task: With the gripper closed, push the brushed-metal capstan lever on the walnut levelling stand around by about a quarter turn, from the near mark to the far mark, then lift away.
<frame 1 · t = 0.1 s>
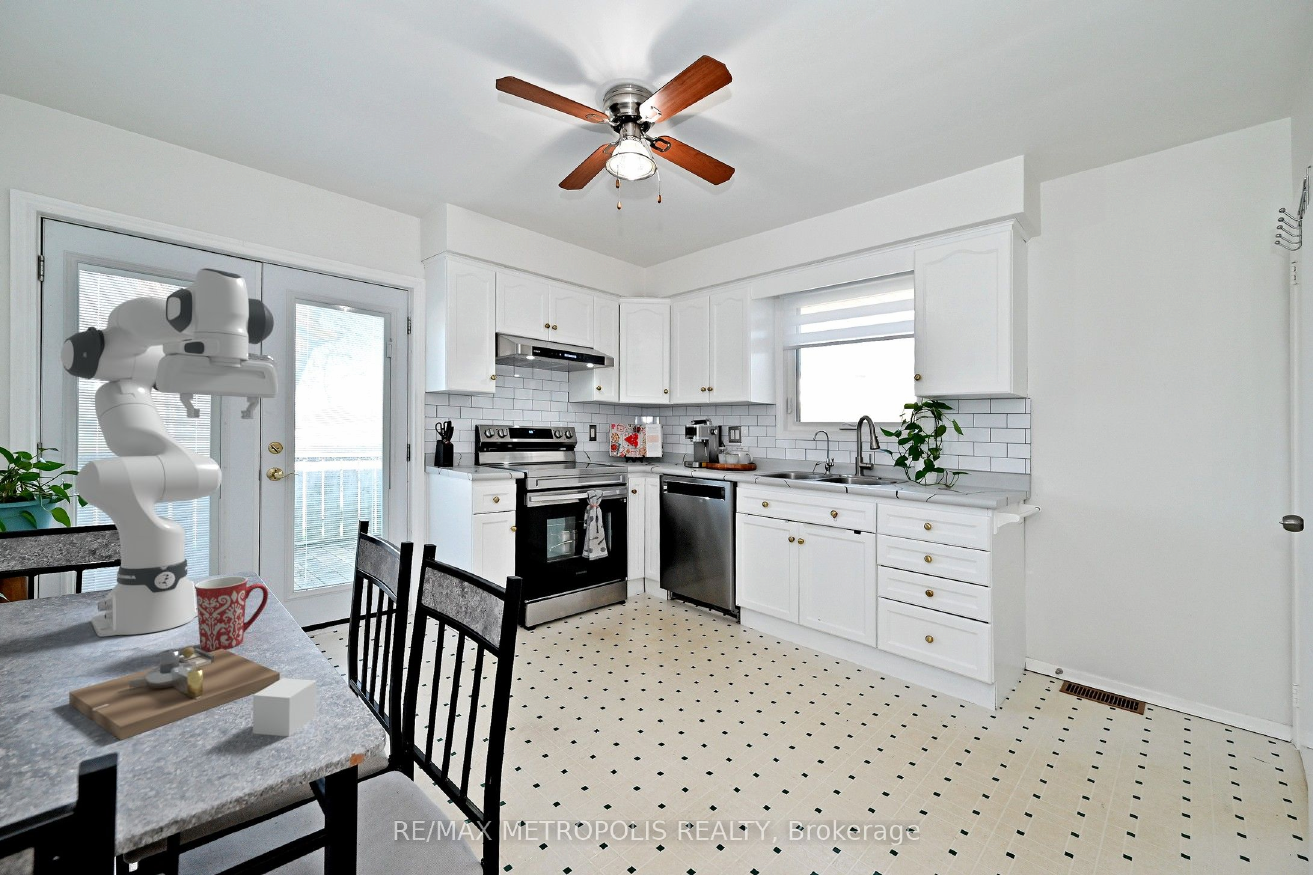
hand: (221, 418, 116), 48 cm above the table, tool pointing down, fingers open, 8 cm apart
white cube: (285, 726, 90), on the table
stand: (179, 693, 99), on the table
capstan: (179, 670, 97), point 5 cm above the table, hinge at 0.0°
mug: (232, 643, 122), on the table
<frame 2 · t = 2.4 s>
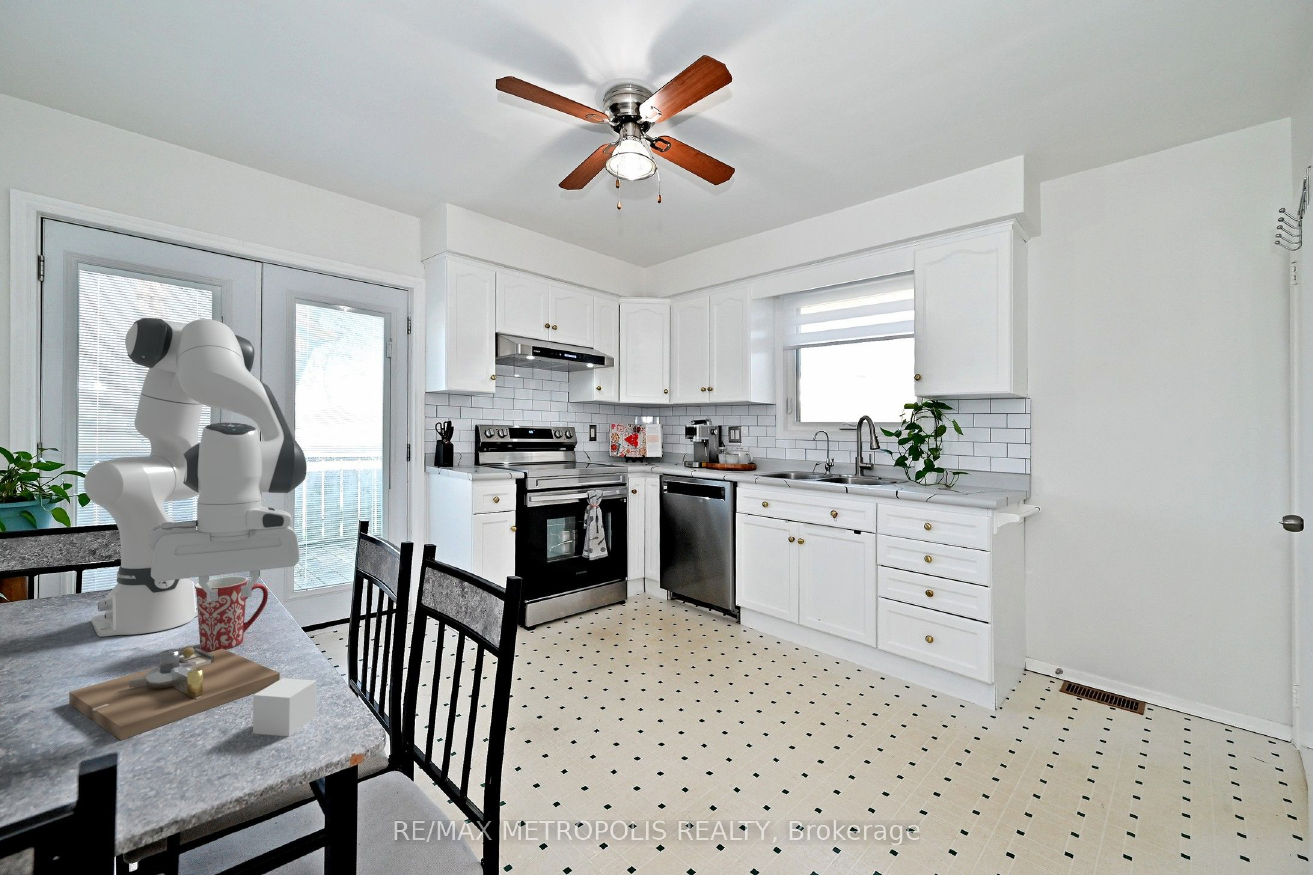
hand: (229, 598, 98), 17 cm above the table, tool pointing down, fingers open, 3 cm apart
nothing on the table moved.
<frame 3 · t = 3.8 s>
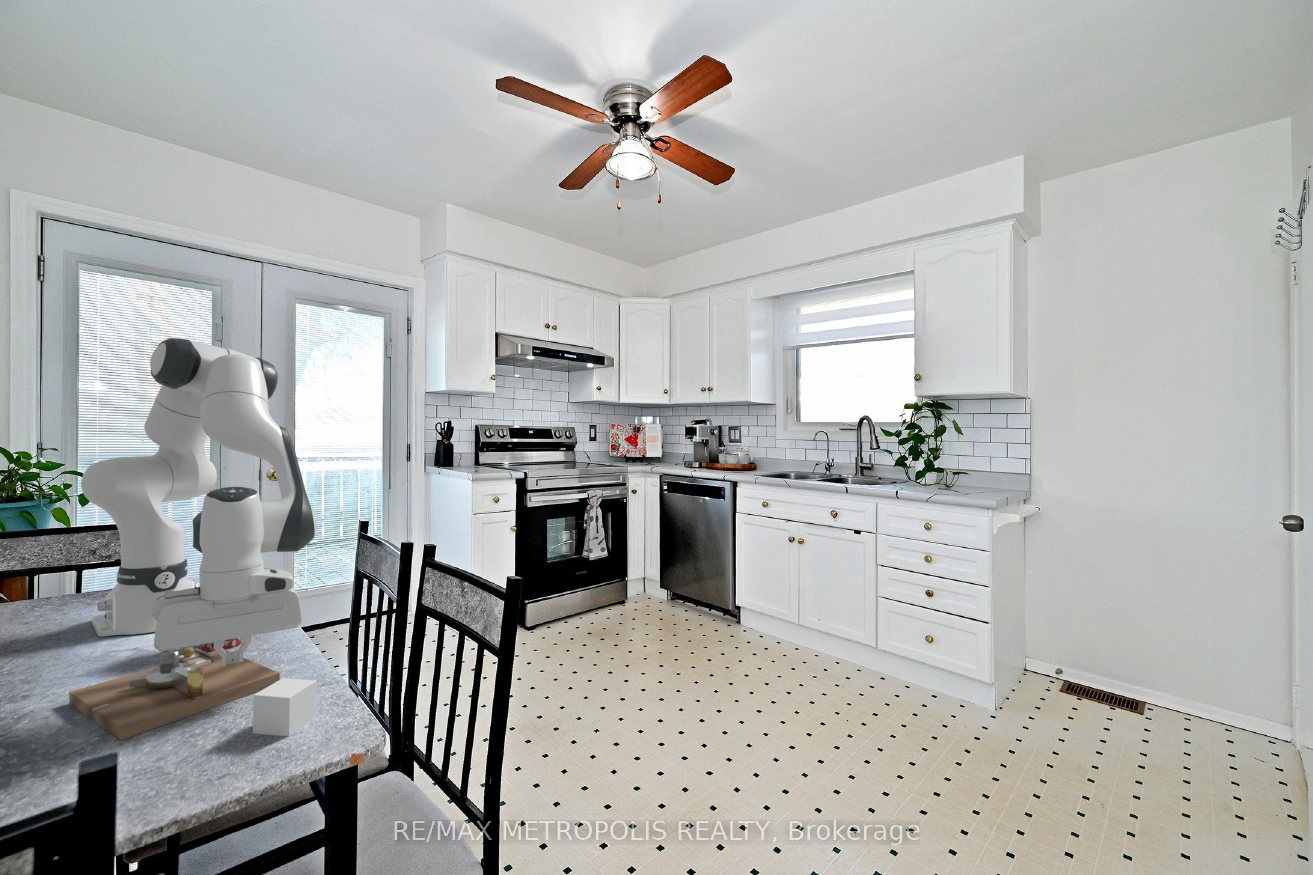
hand: (232, 663, 98), 6 cm above the table, tool pointing down, fingers closed
nothing on the table moved.
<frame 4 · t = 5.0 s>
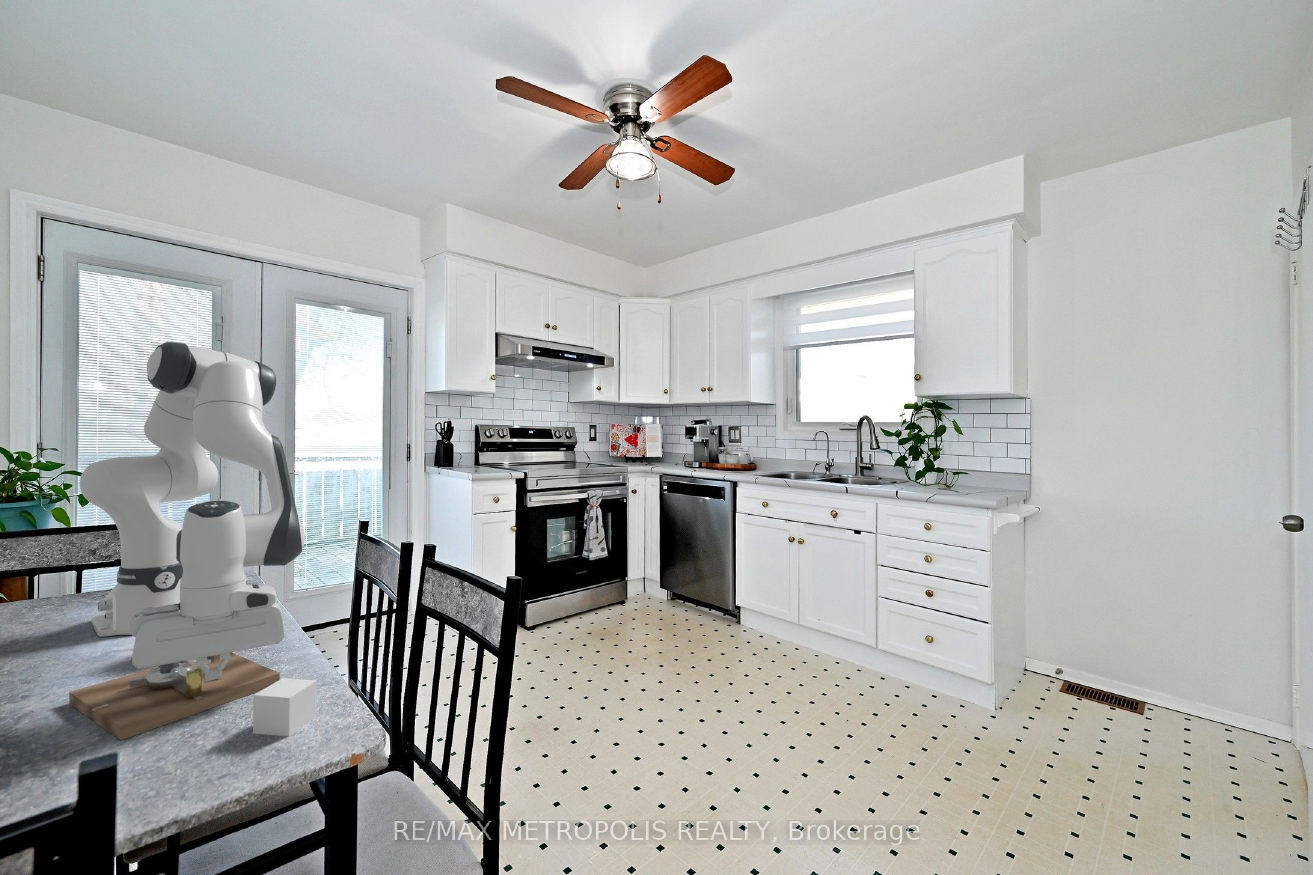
hand: (213, 680, 96), 4 cm above the table, tool pointing down, fingers closed
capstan: (178, 671, 97), point 5 cm above the table, hinge at -1.0°, touching gripper
everything else where it was.
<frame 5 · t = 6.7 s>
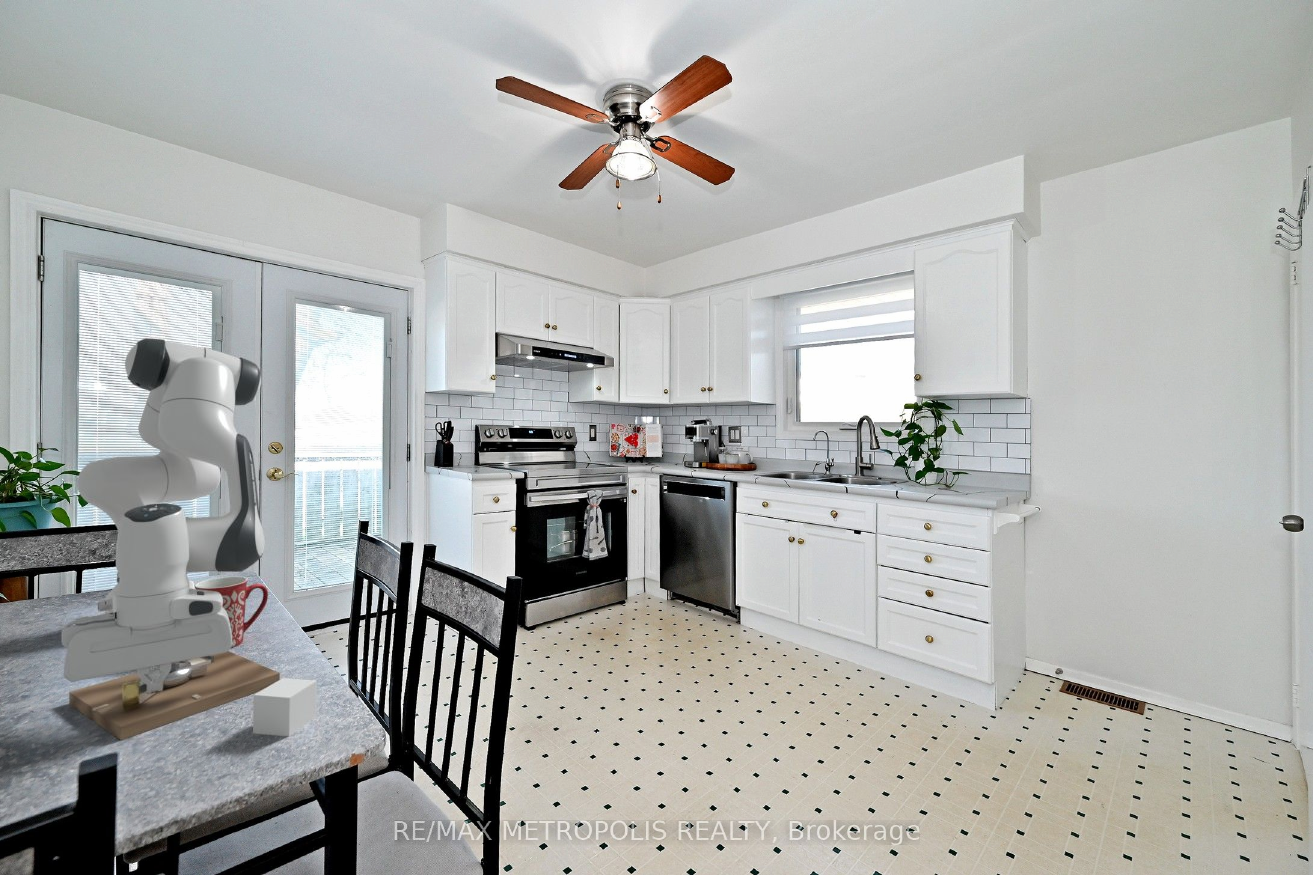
hand: (154, 691, 92), 4 cm above the table, tool pointing down, fingers closed
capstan: (155, 675, 95), point 5 cm above the table, hinge at -49.3°, touching gripper
everything else where it was.
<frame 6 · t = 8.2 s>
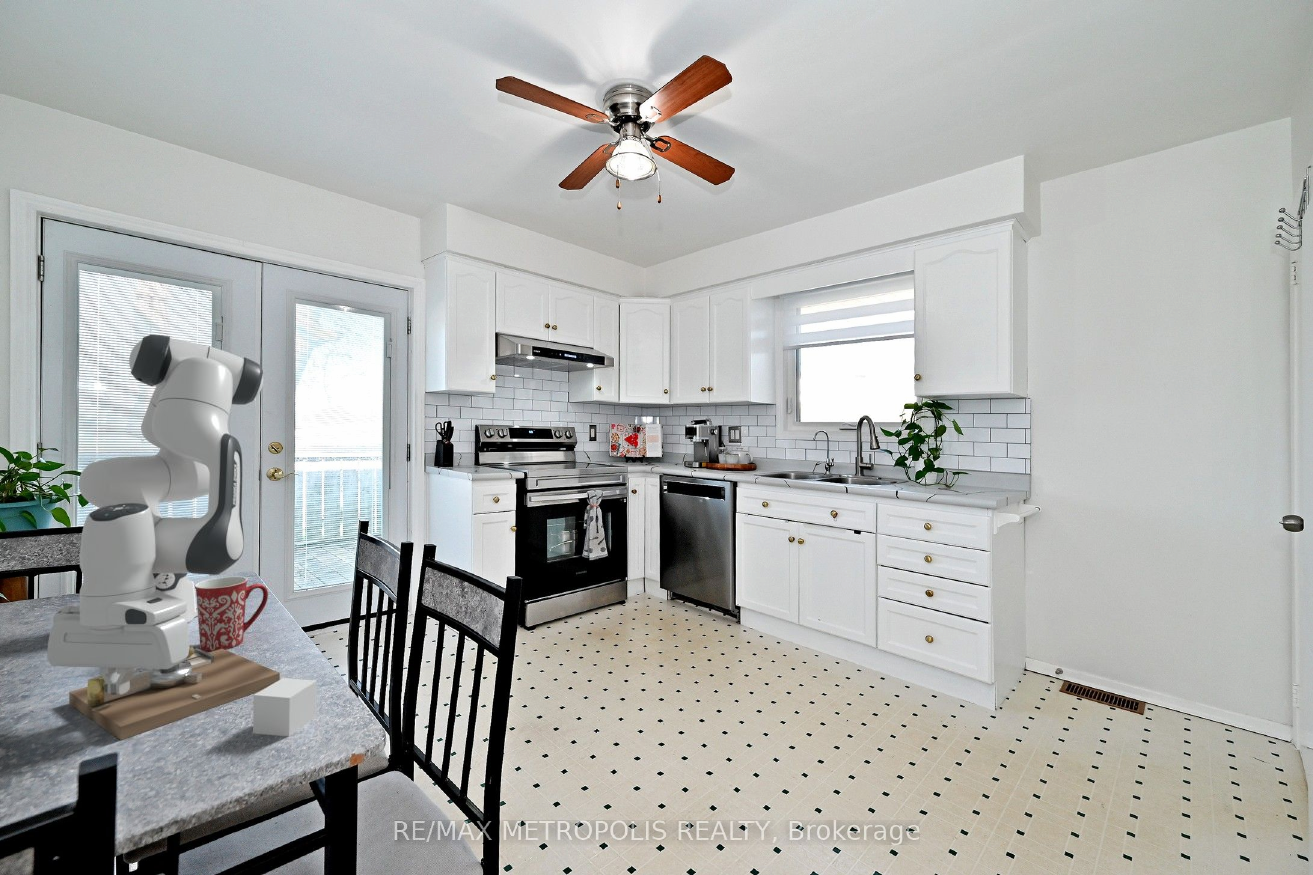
hand: (118, 692, 91), 4 cm above the table, tool pointing down, fingers closed
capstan: (142, 673, 95), point 5 cm above the table, hinge at -89.7°, touching gripper
everything else where it was.
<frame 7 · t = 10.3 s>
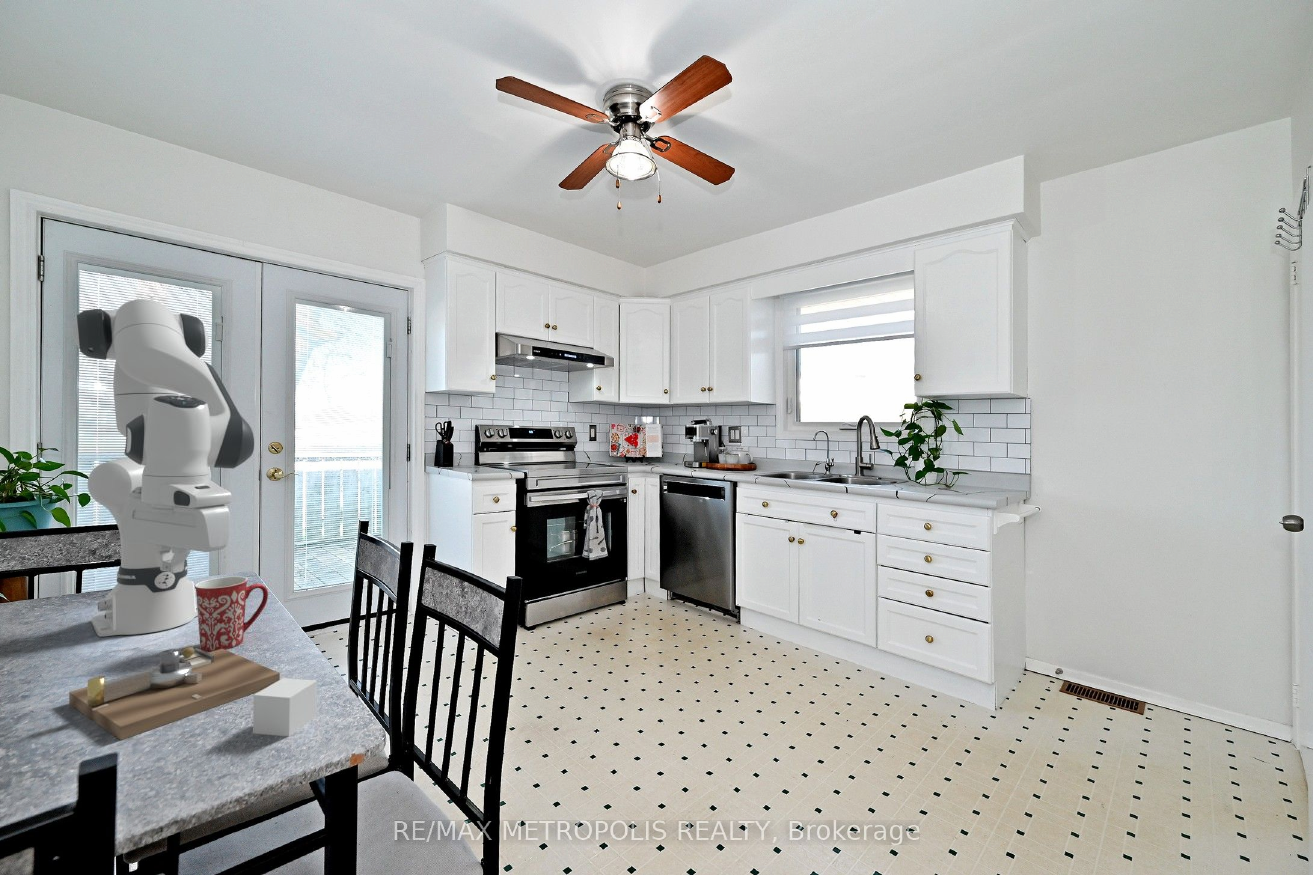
hand: (171, 571, 98), 22 cm above the table, tool pointing down, fingers closed
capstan: (142, 673, 95), point 5 cm above the table, hinge at -89.7°
everything else where it was.
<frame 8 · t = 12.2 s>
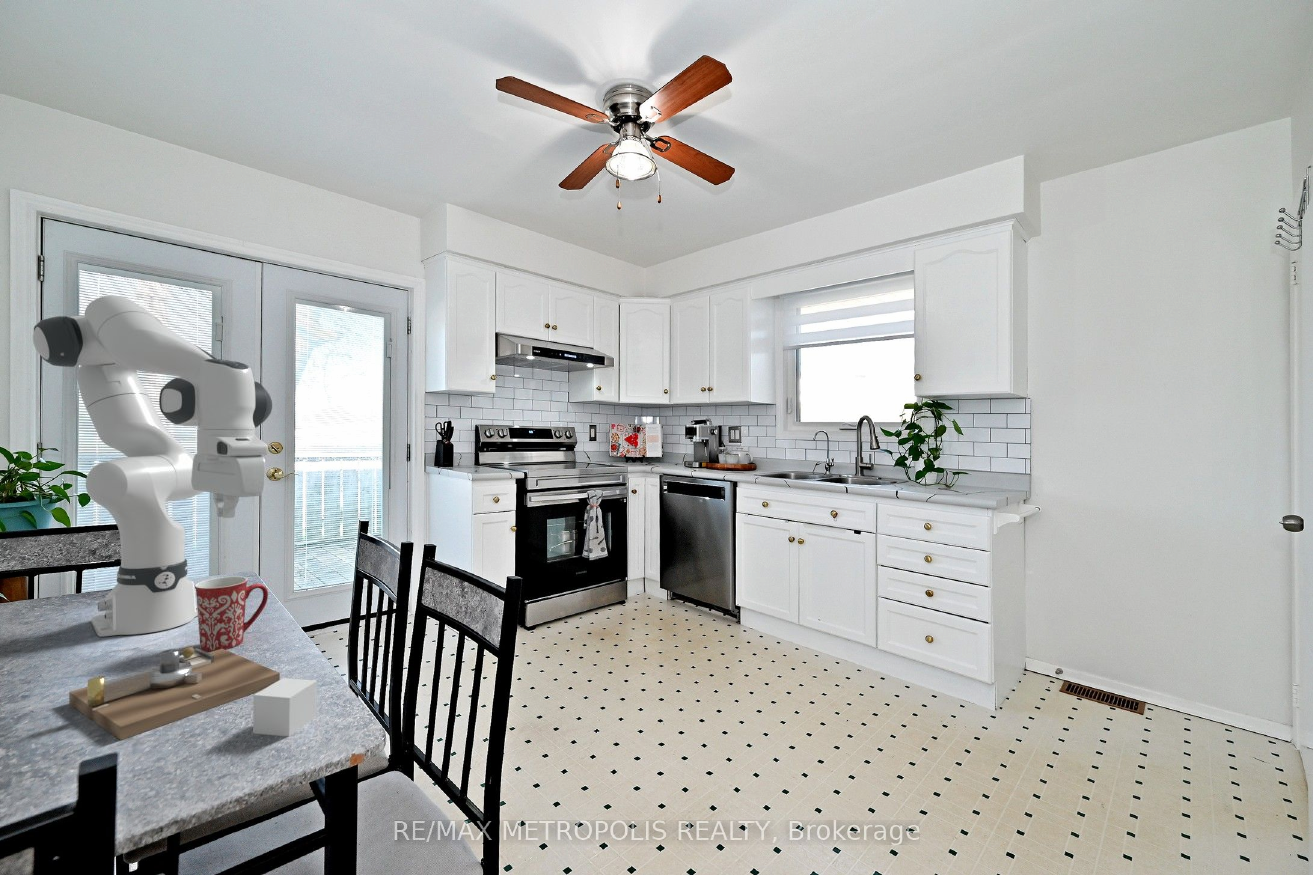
hand: (226, 517, 109), 29 cm above the table, tool pointing down, fingers closed
nothing on the table moved.
at the end: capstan at -90° (first picture: +0°) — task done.
